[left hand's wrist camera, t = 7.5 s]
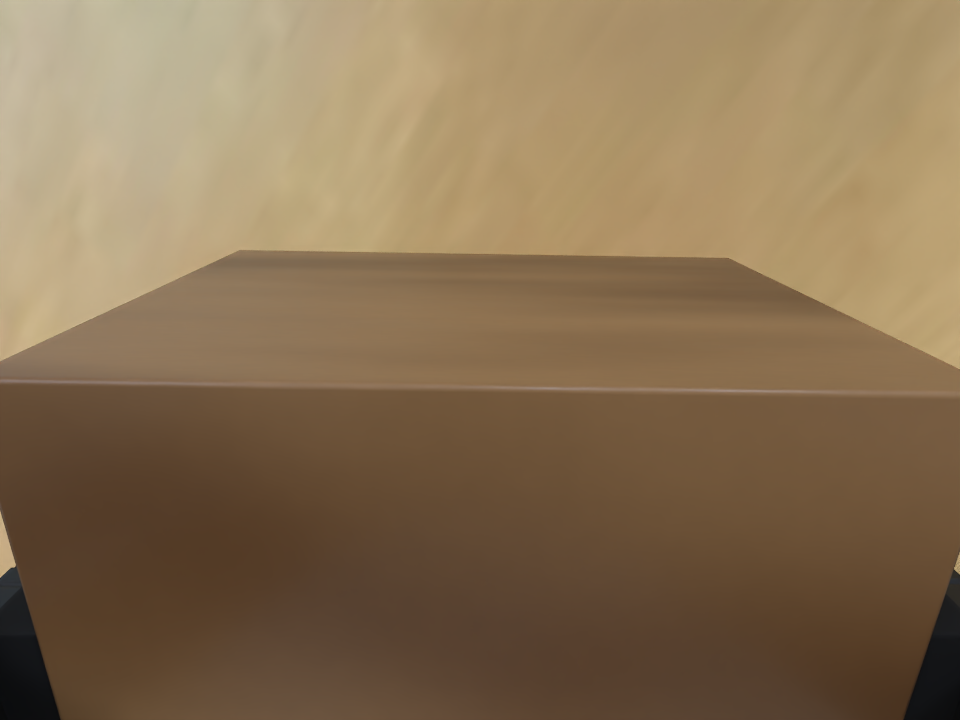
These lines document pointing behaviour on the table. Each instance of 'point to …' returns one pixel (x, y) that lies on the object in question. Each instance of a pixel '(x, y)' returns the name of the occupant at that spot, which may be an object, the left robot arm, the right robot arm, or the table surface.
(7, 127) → the table surface
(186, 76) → the table surface
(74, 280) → the table surface
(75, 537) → the slab
